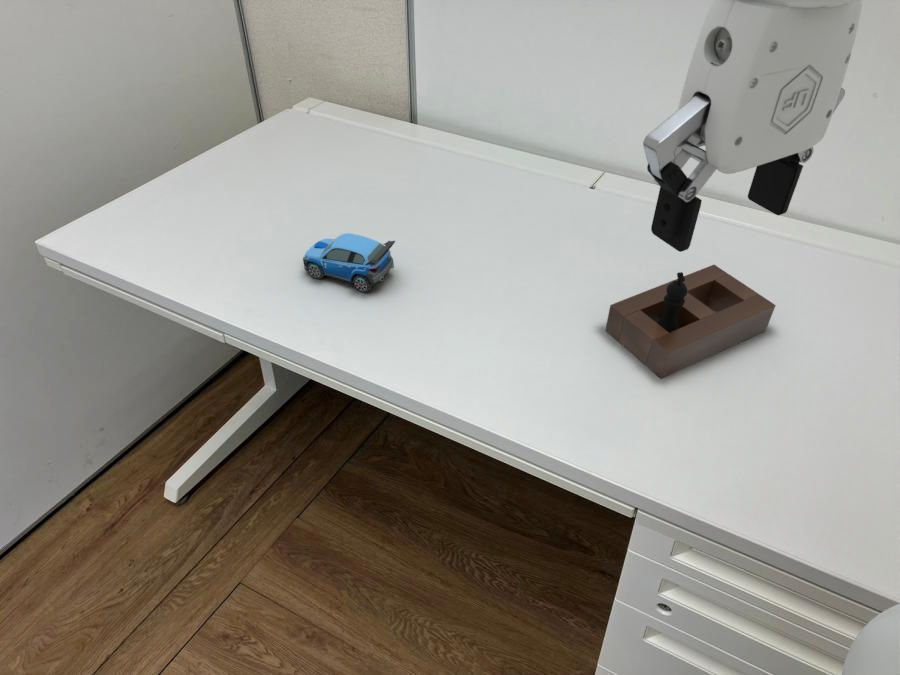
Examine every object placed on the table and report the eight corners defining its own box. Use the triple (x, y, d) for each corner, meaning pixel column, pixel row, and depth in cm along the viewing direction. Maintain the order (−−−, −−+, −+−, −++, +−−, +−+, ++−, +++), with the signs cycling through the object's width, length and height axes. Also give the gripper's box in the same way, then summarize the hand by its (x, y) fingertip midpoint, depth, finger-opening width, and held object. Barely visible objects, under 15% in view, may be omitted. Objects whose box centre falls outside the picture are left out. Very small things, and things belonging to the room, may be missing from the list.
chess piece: (674, 327, 86) (693, 260, 80) (687, 351, 83) (708, 282, 76) (639, 330, 86) (655, 262, 79) (651, 354, 82) (669, 285, 76)
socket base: (765, 330, 86) (775, 305, 83) (661, 379, 79) (668, 352, 77) (706, 289, 92) (714, 264, 90) (605, 330, 86) (610, 304, 83)
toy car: (322, 253, 98) (317, 218, 94) (399, 273, 95) (397, 237, 91) (299, 275, 94) (293, 239, 90) (378, 297, 90) (376, 261, 87)
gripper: (739, -1, 34) (666, 285, 45) (950, -42, 41) (841, 216, 52) (634, -34, 39) (592, 231, 50) (838, -66, 46) (761, 174, 57)
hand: (719, 223), depth 51 cm, fingers open, 9 cm apart
